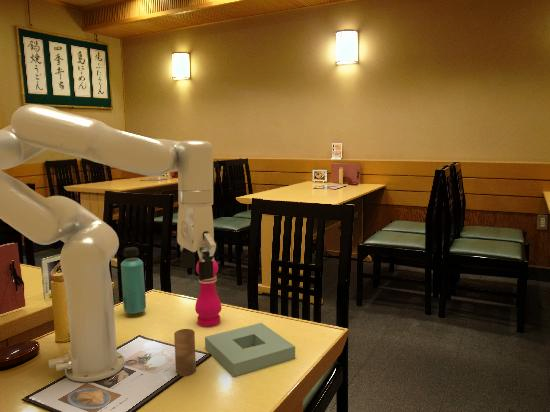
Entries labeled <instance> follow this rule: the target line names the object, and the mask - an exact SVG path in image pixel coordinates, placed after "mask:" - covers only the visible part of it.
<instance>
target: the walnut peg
mask: <svg viewBox="0 0 550 412" xmlns="http://www.w3.org/2000/svg"><path fill="white" fill-rule="evenodd" d="M173 334H174V335H173V336H174V337H173V339H174V359H175V373H177V374H179V375H180V377H188V376H192V375H194V374H195V373H196V371H197V365H196V338H195V337H196V336H195V334H196V333H195V331H194V330H193V329H191V328H182V329H179V330H176V331H174V333H173ZM177 374H176V375H177ZM179 375H178V376H179Z"/></svg>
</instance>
